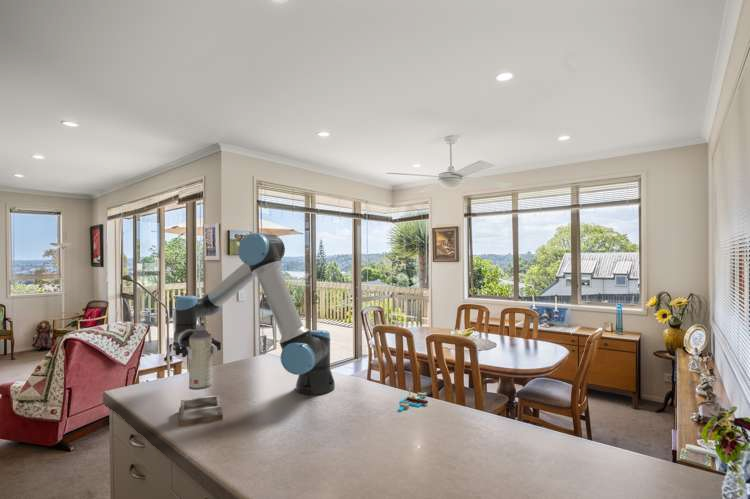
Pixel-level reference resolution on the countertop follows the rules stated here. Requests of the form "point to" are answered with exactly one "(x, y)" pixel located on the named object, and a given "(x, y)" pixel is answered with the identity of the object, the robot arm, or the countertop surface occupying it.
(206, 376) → the aerosol can
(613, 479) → the countertop surface
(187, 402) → the shallow tray
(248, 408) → the countertop surface
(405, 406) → the toy boat
